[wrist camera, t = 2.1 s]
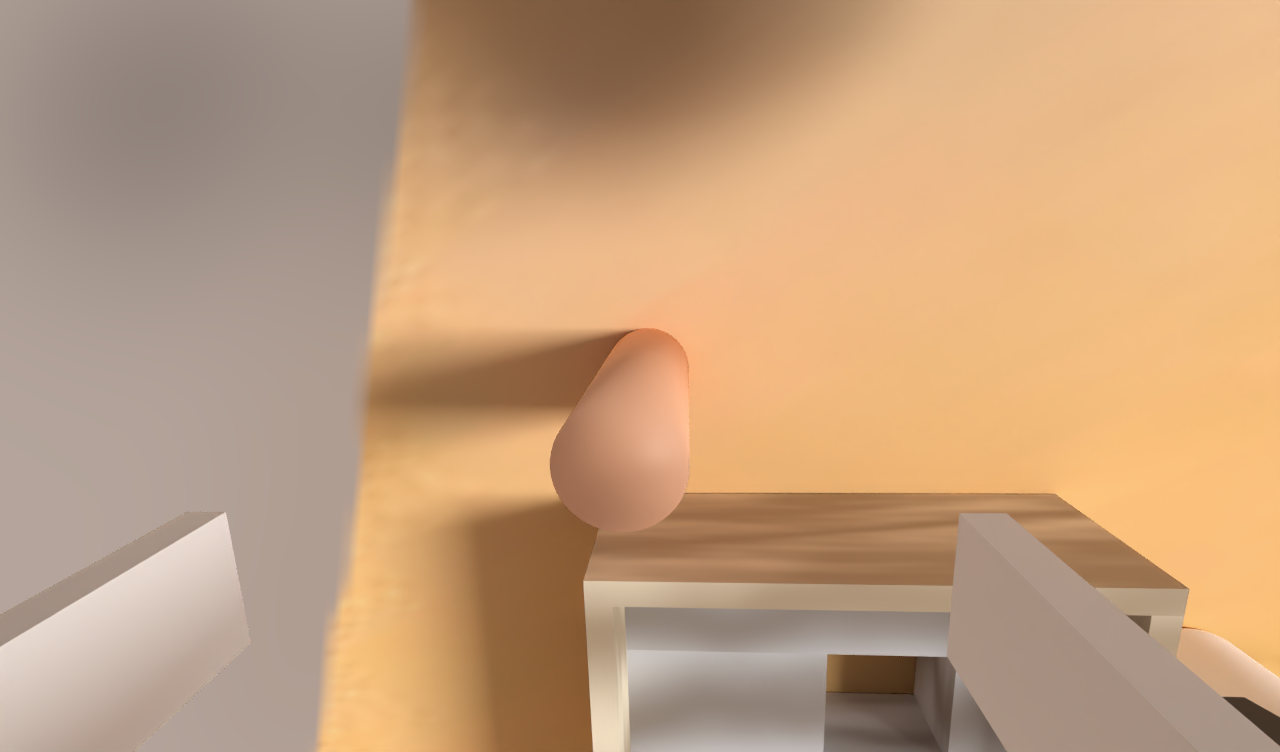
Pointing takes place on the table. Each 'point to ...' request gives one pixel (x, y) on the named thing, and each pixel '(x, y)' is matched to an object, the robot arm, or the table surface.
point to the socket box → (813, 619)
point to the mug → (1228, 669)
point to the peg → (628, 437)
